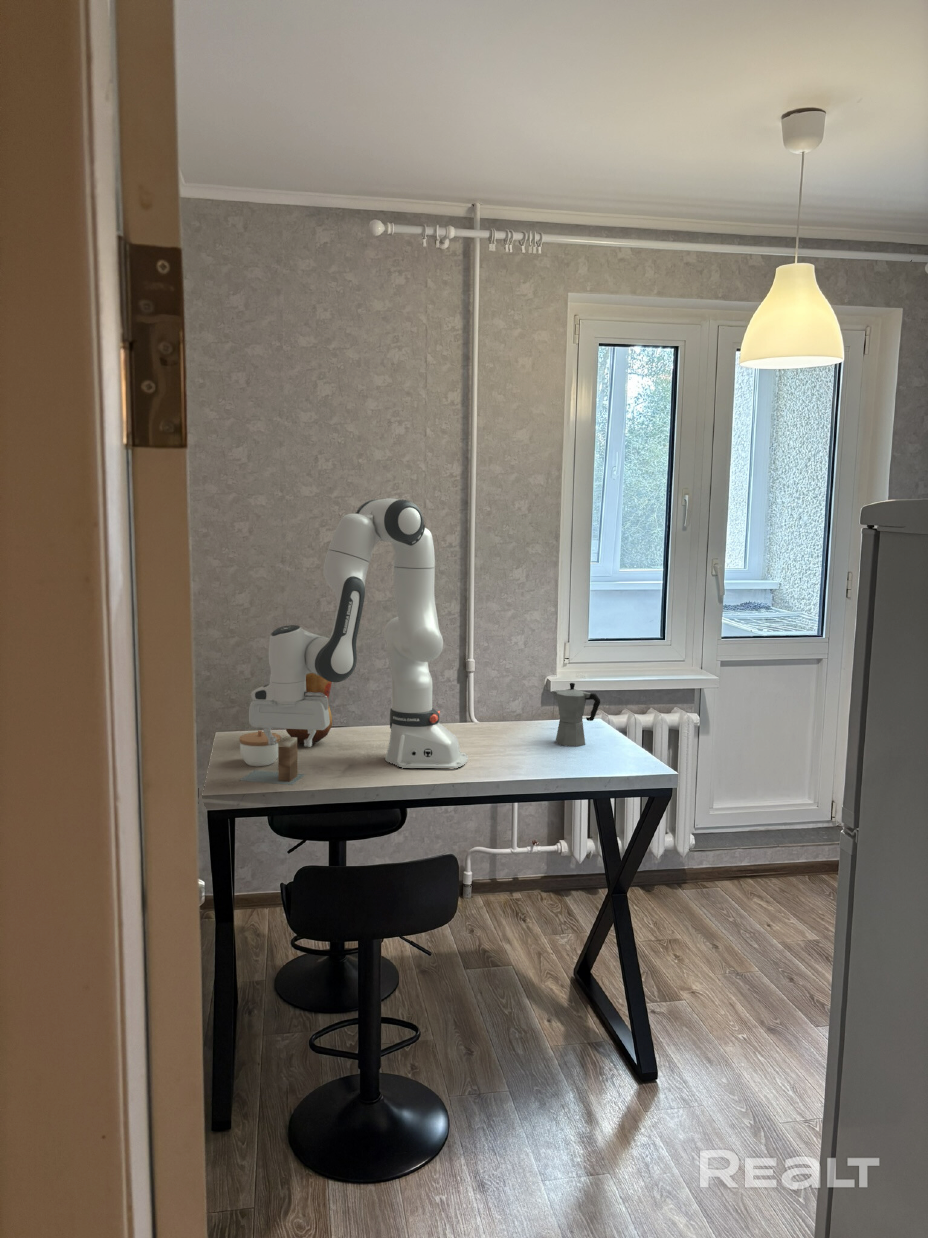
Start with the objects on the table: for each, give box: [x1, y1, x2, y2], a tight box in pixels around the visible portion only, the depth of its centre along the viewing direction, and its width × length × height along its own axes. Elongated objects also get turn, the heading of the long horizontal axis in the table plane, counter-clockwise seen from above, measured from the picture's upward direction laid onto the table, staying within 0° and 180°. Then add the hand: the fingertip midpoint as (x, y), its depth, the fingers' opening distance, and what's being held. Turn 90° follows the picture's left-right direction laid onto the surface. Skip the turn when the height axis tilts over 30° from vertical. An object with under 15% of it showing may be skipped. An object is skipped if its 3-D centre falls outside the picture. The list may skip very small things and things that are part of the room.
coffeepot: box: [550, 682, 601, 747], centre depth 274 cm, size 15×9×18 cm, turn 61°
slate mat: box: [238, 769, 307, 786], centre depth 234 cm, size 14×9×1 cm, turn 79°
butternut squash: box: [285, 673, 333, 745], centre depth 269 cm, size 14×13×25 cm
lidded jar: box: [238, 730, 282, 767], centre depth 247 cm, size 11×11×9 cm
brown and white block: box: [277, 736, 298, 782], centre depth 233 cm, size 3×5×10 cm, turn 169°
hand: (290, 745), depth 233 cm, fingers open, 8 cm apart
